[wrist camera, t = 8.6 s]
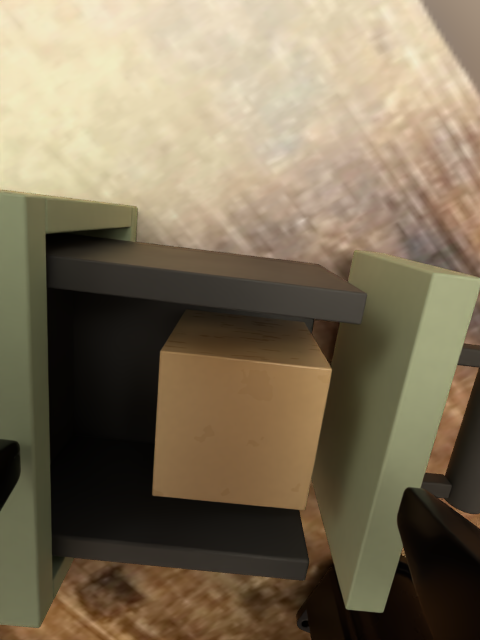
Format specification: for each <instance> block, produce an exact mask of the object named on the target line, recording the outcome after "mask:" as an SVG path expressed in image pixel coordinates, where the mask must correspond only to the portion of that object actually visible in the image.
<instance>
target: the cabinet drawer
mask: <svg viewBox="0 0 480 640" xmlns="http://www.w3.org/2000/svg"><path fill="white" fill-rule="evenodd" d="M45 238H46V287H47V336H48V385H49V434H50V483H51V532H52V556H61V557H71V558H81V559H91V560H101V561H111V562H121V563H131V564H141V565H151V566H161V567H171V568H181V569H191V570H201V571H212V572H222V573H232V574H242V575H252V576H262V577H272V578H282V579H292V580H302V581H303V580H305V578H306V574H307V569H308V565H309V558H308V553H307V548H306V543H305V537H304V532H303V527H302V522H301V517H300V512H299V510H295V509H285V508H274V507H264V506H254V505H243V504H233V503H223V502H212V501H202V500H192V499H181V498H171V497H161V496H153V495H152V485H153V467H154V450H155V432H156V414H157V396H158V379H159V361H160V351H161V349H162V348H163V346H164V344H165V343H166V341H167V340H168V338H169V336H170V335H171V333H172V331H173V330H174V328H175V327H176V325H177V323H178V322H179V320H180V318H181V317H182V315H183V314H184V312H185V310H187V309H188V310H197V311H206V312H215V313H224V314H233V315H243V316H252V317H261V318H270V319H279V320H289V321H298V322H304V323H305V324H306V326H307V328H308V329H309V331H310V333H311V334H312V329H313V323H314V319H316V320H325V321H333V322H340V324H339V329H338V334H337V339H336V344H335V349H334V354H333V359H332V364H331V368H332V374H331V379H330V385H329V390H328V395H327V400H326V405H325V411H324V416H323V421H322V426H321V431H320V437H319V442H318V447H317V452H316V458H315V463H314V468H313V473H312V478H311V479H312V483H313V487H314V490H315V494H316V498H317V502H318V506H319V509H320V513H321V517H322V521H323V524H324V528H325V532H326V536H327V540H328V543H329V547H330V551H331V555H332V558H333V562H334V566H335V570H336V574H337V577H338V581H339V585H340V589H341V592H342V596H343V600H344V604H345V608H346V609H348V610H358V611H368V612H378V613H382V612H384V608H385V605H386V602H387V598H388V595H389V592H390V588H391V585H392V582H393V578H394V575H395V572H396V568H397V565H398V562H399V558H400V555H401V551H402V548H403V544H402V541H401V537H400V534H399V530H398V526H397V513H398V510H399V506H400V503H401V499H402V496H403V492H404V490H405V489H406V488H407V487H415V488H423V489H425V490H427V491H428V492H430V493H431V494H433V495H434V496H435V497H437V498H444V499H445V500H446V501H447V502H448V503H449V504H450V505H452V506H453V507H455V508H457V509H459V510H461V511H463V512H466V513H470V514H479V513H480V346H479V345H471V344H464V340H465V337H466V333H467V330H468V327H469V323H470V320H471V317H472V313H473V310H474V307H475V303H476V300H477V297H478V293H479V290H480V278H479V277H475V276H471V275H467V274H463V273H459V272H455V271H451V270H447V269H443V268H439V267H435V266H431V265H427V264H423V263H419V262H415V261H411V260H407V259H403V258H400V257H396V256H392V255H388V254H384V253H377V252H369V251H360V250H355V251H354V254H353V259H352V264H351V269H350V274H349V279H348V282H347V281H345V280H344V279H342V278H340V277H339V276H337V275H335V274H334V273H332V272H331V271H329V270H327V269H326V268H324V267H322V266H321V265H319V264H313V263H304V262H296V261H288V260H280V259H272V258H264V257H255V256H247V255H239V254H231V253H223V252H214V251H206V250H198V249H190V248H182V247H173V246H165V245H157V244H149V243H141V242H133V241H124V240H116V239H108V238H100V237H92V236H83V235H75V234H67V233H57V234H46V235H45ZM457 365H463V366H471V367H479V370H478V373H477V376H476V379H475V382H474V385H473V389H472V392H471V395H470V398H469V401H468V404H467V408H466V411H465V414H464V417H463V420H462V423H461V427H460V430H459V433H458V436H457V439H456V442H455V446H454V449H453V452H452V455H451V458H450V461H449V465H448V468H447V471H446V474H445V476H444V475H442V474H433V473H425V471H426V468H427V464H428V461H429V458H430V454H431V451H432V447H433V444H434V441H435V437H436V434H437V431H438V427H439V424H440V421H441V417H442V414H443V411H444V407H445V404H446V401H447V397H448V394H449V390H450V387H451V384H452V380H453V377H454V374H455V370H456V367H457Z"/></svg>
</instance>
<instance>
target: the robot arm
mask: <svg viewBox="0 0 480 640" xmlns="http://www.w3.org/2000/svg"><path fill="white" fill-rule="evenodd" d="M20 474H21V460H20V445H19V443H18V442H17V441H15V440H7V439H0V511H1V509H2V508H3V506H4V504H5V503H6V501H7V499H8V498H9V496H10V494H11V493H12V491H13V489H14V488H15V486H16V484H17V482H18V480H19V478H20ZM397 526H398V530H399V534H400V537H401V541H402V544H403V548H404V551H405V555H406V558H407V559H406V558H404V557H402V556H400V558H399V562H398V565H397V568H396V572H395V575H394V578H393V582H392V585H391V588H390V592H389V595H388V598H387V602H386V605H385V608H384V612H382V613H378V612H368V611H358V610H348V609H346V608H345V604H344V600H343V596H342V592H341V589H340V585H339V581H338V577H337V574H336V570H335V566H334V563H333V565H332V566H331V567H330V569H329V570H328V572H327V573H326V574H325V576H324V577H323V578H322V580H321V581H320V582H319V584H318V585H317V587H316V588H315V589H314V591H313V592H312V593H311V595H310V596H309V597H308V599H307V600H306V602H305V603H304V604H303V606H302V607H301V608H300V610H299V611H298V613H297V614H296V619H297V626H298V627H299V628H300V629H301V630H304V631H306V632H309V633H310V634H311V640H480V529H479V528H478V527H477V526H475V525H474V524H473V523H471V522H470V521H468V520H467V519H466V518H464V517H463V516H462V515H460V514H459V513H457V512H456V511H455V510H453V509H452V508H451V507H449V506H448V505H446V504H445V503H444V502H442V501H441V500H439V499H438V498H437V497H435V496H434V495H433V494H431V493H430V492H428V491H427V490H425V489H423V488H415V487H407V488H406V489H405V490H404V492H403V496H402V499H401V503H400V506H399V510H398V513H397Z"/></svg>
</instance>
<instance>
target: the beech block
mask: <svg viewBox="0 0 480 640" xmlns="http://www.w3.org/2000/svg"><path fill="white" fill-rule="evenodd" d="M331 374H332V368H331V366H330V365H329V363H328V361H327V360H326V358H325V356H324V355H323V353H322V351H321V350H320V348H319V346H318V344H317V343H316V341H315V339H314V338H313V336H312V334H311V333H310V331H309V329H308V328H307V326H306V324H305V323H304V322H298V321H289V320H279V319H270V318H261V317H252V316H243V315H233V314H224V313H215V312H206V311H197V310H188V309H187V310H185V312H184V314H183V315H182V317H181V318H180V320H179V322H178V323H177V325H176V327H175V328H174V330H173V331H172V333H171V335H170V336H169V338H168V340H167V341H166V343H165V344H164V346H163V348H162V349H161V351H160V361H159V379H158V396H157V414H156V432H155V450H154V467H153V485H152V495H153V496H161V497H171V498H181V499H192V500H202V501H212V502H223V503H233V504H243V505H254V506H264V507H274V508H285V509H295V510H305V509H306V504H307V499H308V494H309V489H310V484H311V478H312V473H313V468H314V463H315V458H316V452H317V447H318V442H319V437H320V431H321V426H322V421H323V416H324V411H325V405H326V400H327V395H328V390H329V385H330V379H331Z"/></svg>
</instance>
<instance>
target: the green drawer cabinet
mask: <svg viewBox="0 0 480 640" xmlns="http://www.w3.org/2000/svg"><path fill="white" fill-rule="evenodd" d="M136 229H137V207H136V206H128V205H120V204H112V203H104V202H96V201H88V200H80V199H72V198H64V197H56V196H48V195H40V194H32V193H24V192H16V191H8V190H0V439H7V440H15V441H17V442H18V443H19V445H20V460H21V474H20V478H19V480H18V482H17V484H16V486H15V488H14V489H13V491H12V493H11V494H10V496H9V498H8V499H7V501H6V503H5V504H4V506H3V508H2V509H1V511H0V624H1V625H12V626H23V627H33V628H39V627H40V626H41V624H42V622H43V620H44V618H45V616H46V614H47V612H48V610H49V608H50V606H51V604H52V602H53V599H54V598H55V596H56V594H57V592H58V590H59V588H60V586H61V584H62V582H63V580H64V578H65V576H66V574H67V572H68V570H69V568H70V566H71V564H72V562H73V560H74V558H71V557H61V556H52V532H51V483H50V434H49V385H48V336H47V287H46V238H45V235H46V234H57V233H67V234H75V235H83V236H92V237H100V238H108V239H116V240H124V241H133V242H136Z"/></svg>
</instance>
